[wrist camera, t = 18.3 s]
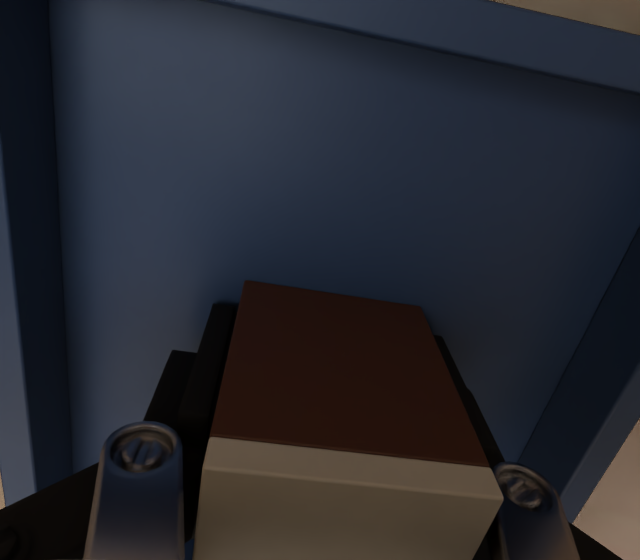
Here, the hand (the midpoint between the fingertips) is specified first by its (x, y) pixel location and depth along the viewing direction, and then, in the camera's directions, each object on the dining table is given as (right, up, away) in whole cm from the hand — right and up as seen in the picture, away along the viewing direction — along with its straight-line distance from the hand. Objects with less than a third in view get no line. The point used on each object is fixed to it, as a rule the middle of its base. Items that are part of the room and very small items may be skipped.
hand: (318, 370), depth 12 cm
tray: (0, +1, +1) cm, 1 cm away
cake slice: (0, 0, 0) cm, 0 cm away
